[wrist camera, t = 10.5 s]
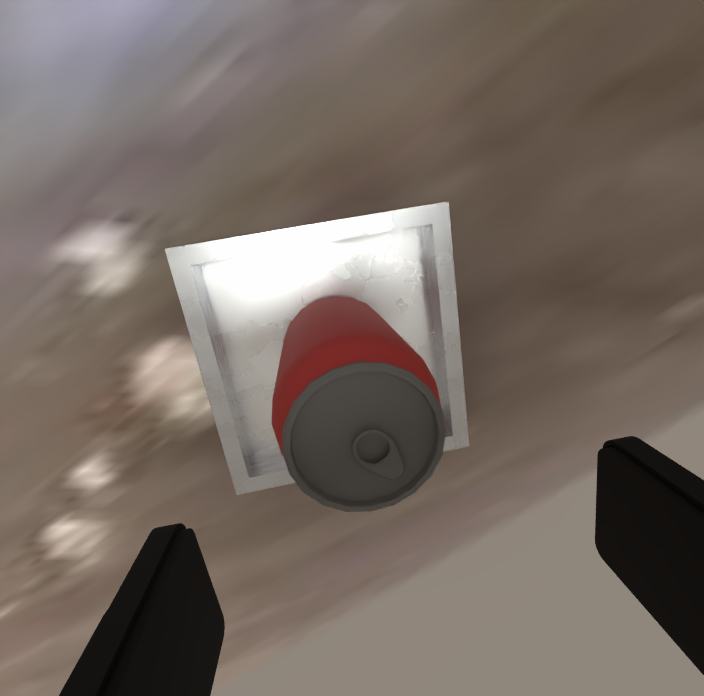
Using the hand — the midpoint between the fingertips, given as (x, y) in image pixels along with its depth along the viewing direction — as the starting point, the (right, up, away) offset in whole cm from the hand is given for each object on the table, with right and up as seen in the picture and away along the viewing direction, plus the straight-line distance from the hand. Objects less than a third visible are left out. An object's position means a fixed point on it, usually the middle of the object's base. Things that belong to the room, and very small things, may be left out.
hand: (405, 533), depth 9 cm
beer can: (-2, +4, +16) cm, 17 cm away
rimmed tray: (-3, +4, +17) cm, 17 cm away
